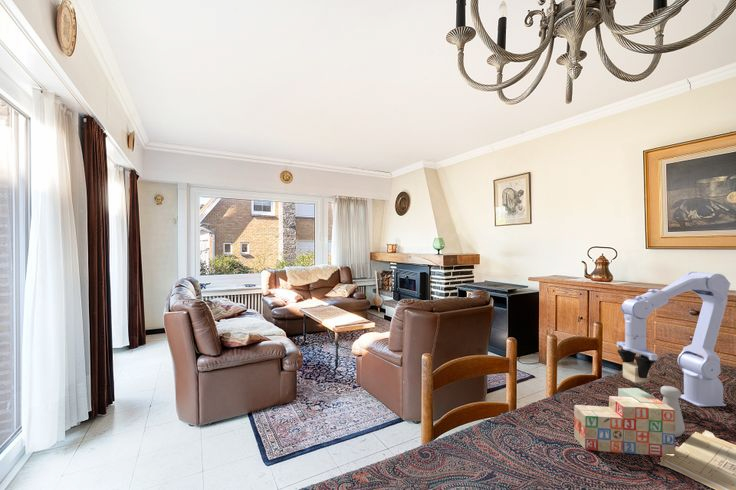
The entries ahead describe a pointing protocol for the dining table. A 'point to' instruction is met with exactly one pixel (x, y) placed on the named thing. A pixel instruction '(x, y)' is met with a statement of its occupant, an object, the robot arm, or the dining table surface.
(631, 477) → the dining table surface
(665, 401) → the salt shaker
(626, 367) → the maple cube
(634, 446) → the stack of blocks
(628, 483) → the dining table surface
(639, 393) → the base block
